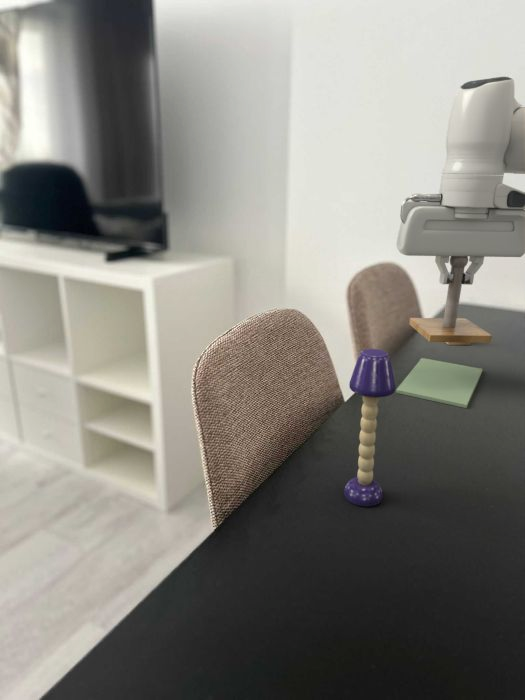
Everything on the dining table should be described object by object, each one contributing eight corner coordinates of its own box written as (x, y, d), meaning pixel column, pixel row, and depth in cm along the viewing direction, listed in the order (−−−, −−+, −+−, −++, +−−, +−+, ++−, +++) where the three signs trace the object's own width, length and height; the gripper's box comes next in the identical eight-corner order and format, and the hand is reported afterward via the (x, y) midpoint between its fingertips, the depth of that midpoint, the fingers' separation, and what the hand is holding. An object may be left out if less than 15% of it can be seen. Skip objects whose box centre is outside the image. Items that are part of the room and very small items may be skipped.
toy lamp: (332, 492, 57) (342, 351, 52) (356, 476, 60) (369, 342, 55) (368, 512, 54) (383, 364, 48) (392, 494, 57) (409, 353, 52)
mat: (421, 360, 99) (421, 357, 98) (482, 372, 94) (482, 369, 93) (395, 392, 84) (396, 389, 84) (466, 408, 79) (467, 404, 79)
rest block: (466, 342, 110) (469, 324, 109) (470, 345, 109) (473, 326, 107) (444, 342, 110) (446, 324, 109) (448, 345, 108) (450, 326, 107)
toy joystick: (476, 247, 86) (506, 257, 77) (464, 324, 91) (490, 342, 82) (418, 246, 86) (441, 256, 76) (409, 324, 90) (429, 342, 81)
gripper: (409, 194, 75) (399, 287, 79) (543, 197, 76) (526, 288, 81) (396, 192, 81) (387, 279, 85) (521, 195, 82) (505, 280, 87)
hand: (455, 283), depth 83 cm, fingers closed on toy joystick
